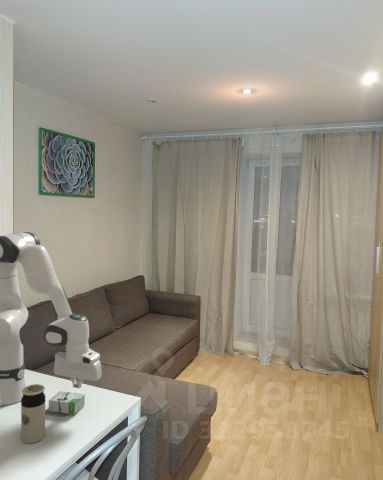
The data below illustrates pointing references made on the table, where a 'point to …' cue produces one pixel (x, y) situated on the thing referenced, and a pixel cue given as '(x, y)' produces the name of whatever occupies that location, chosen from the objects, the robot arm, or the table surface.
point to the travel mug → (33, 413)
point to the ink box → (66, 402)
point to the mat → (55, 413)
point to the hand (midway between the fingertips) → (77, 387)
